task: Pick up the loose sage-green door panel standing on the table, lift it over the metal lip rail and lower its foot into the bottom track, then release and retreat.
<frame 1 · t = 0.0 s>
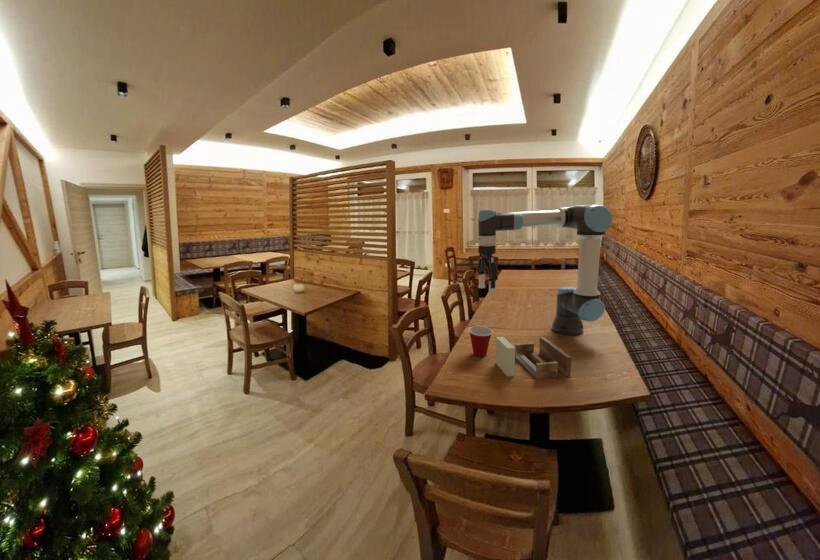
hand: (486, 291, 158), 28 cm above the table, fingers open, 13 cm apart
door panel: (504, 369, 143), on the table
track: (534, 366, 145), on the table
plastic cup: (480, 354, 158), on the table
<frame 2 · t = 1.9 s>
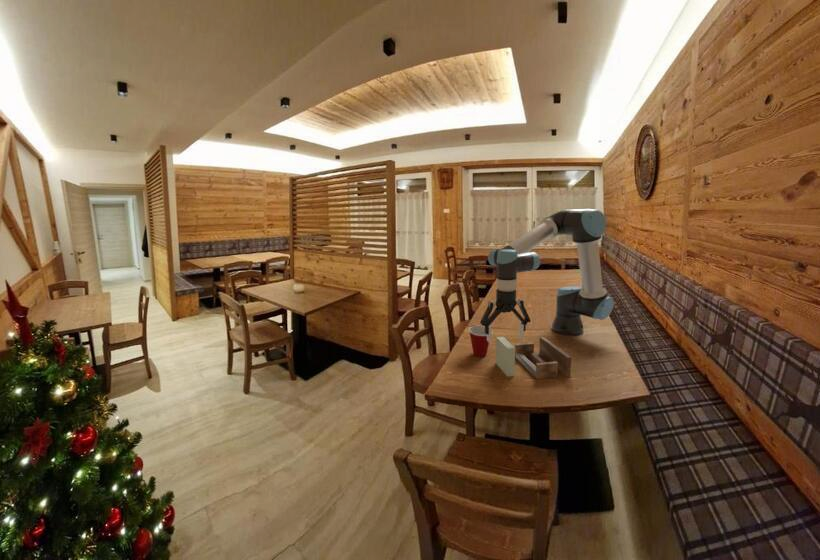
hand: (504, 340, 140), 13 cm above the table, fingers open, 13 cm apart
nothing on the table moved.
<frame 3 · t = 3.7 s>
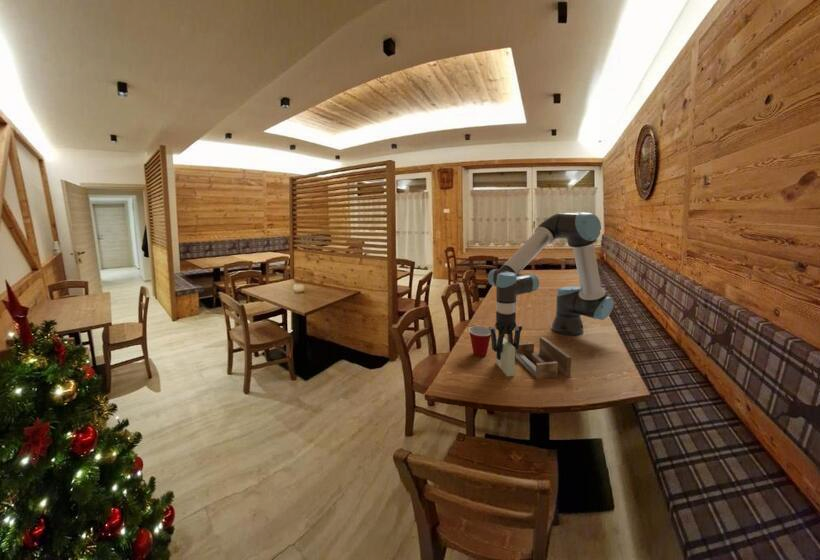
hand: (504, 365, 143), 2 cm above the table, fingers closed on door panel, 3 cm apart
door panel: (504, 369, 143), on the table, touching gripper
everything else where it was.
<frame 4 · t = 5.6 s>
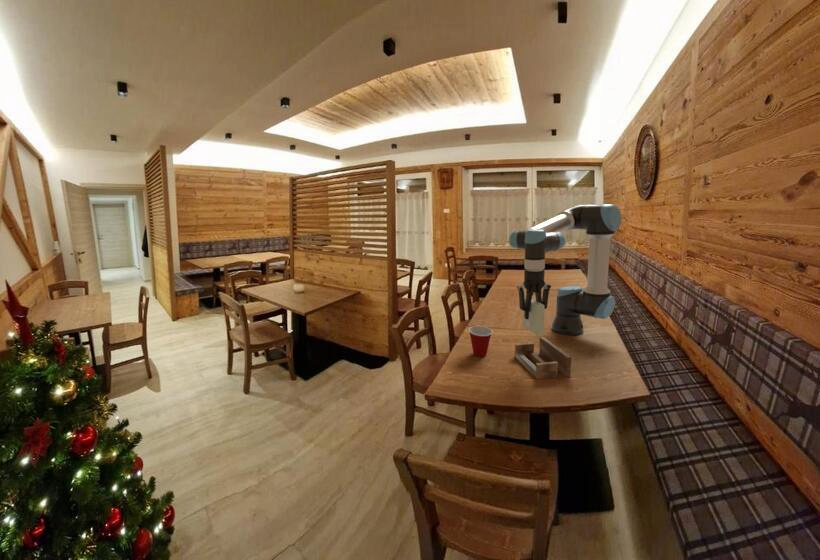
hand: (532, 325, 141), 18 cm above the table, fingers closed on door panel, 3 cm apart
door panel: (532, 329, 141), point 16 cm above the table, touching gripper
everything else where it was.
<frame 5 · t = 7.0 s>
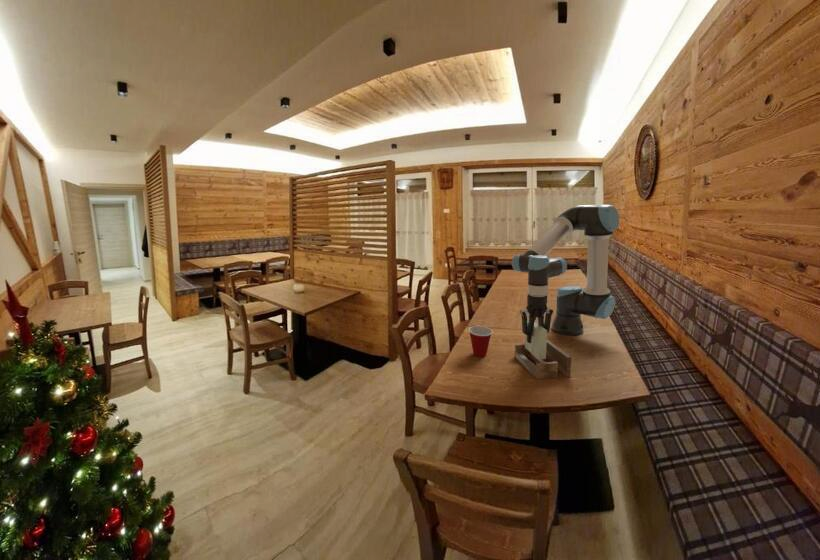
hand: (535, 349, 143), 8 cm above the table, fingers closed on door panel, 3 cm apart
door panel: (534, 353, 143), point 6 cm above the table, touching gripper
everything else where it was.
when the fingers open (4 cm above the table, at t = 8.0 s): door panel drops 2 cm, resting in track.
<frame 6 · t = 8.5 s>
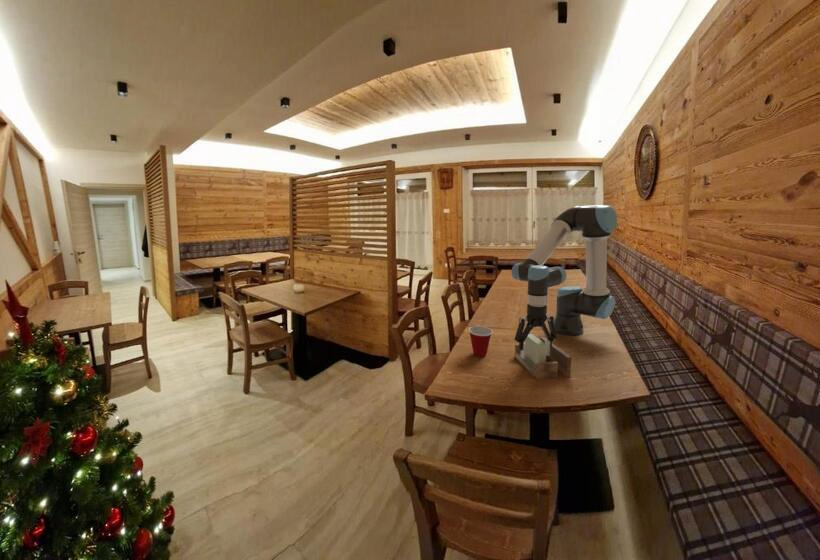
hand: (535, 355, 144), 5 cm above the table, fingers open, 10 cm apart
door panel: (534, 366, 145), resting in track
everything else where it was.
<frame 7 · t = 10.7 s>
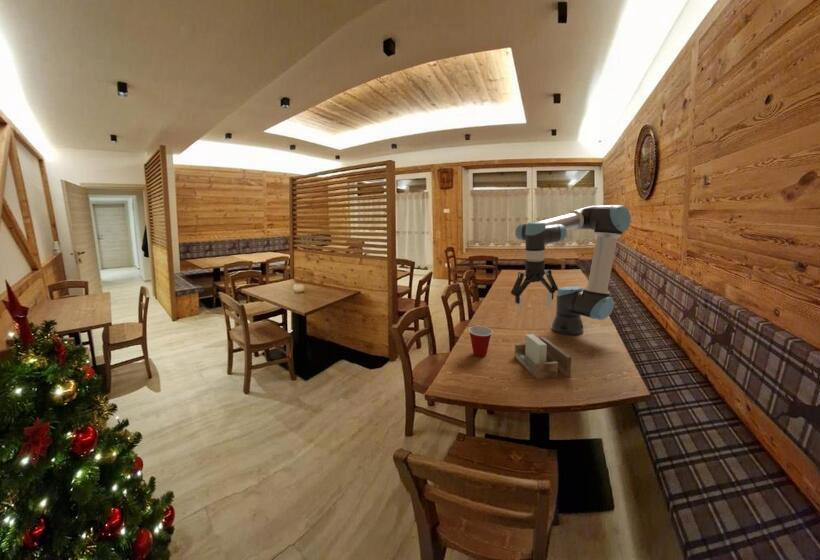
hand: (534, 308, 148), 22 cm above the table, fingers open, 13 cm apart
nothing on the table moved.
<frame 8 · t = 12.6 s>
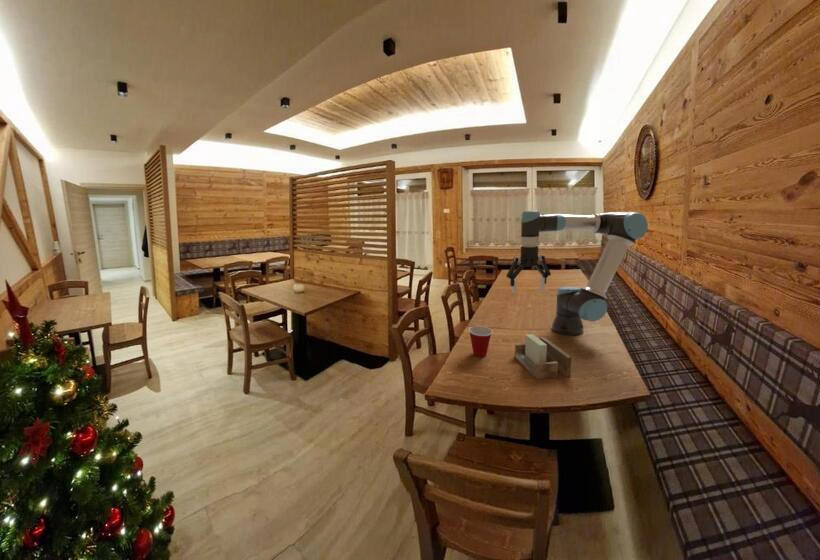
hand: (528, 291, 159), 27 cm above the table, fingers open, 13 cm apart
nothing on the table moved.
at the end: door panel inside the target area on the track (0.1 cm from its centre), point 0.0 cm above the track's base; door panel tilted 0°; the gripper is holding nothing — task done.
